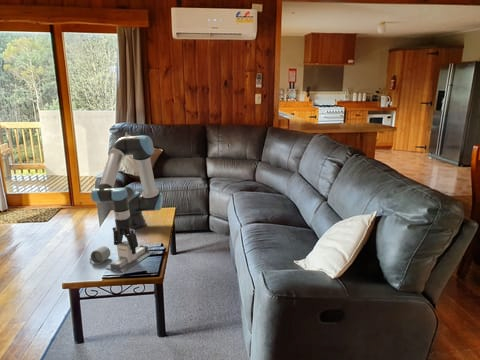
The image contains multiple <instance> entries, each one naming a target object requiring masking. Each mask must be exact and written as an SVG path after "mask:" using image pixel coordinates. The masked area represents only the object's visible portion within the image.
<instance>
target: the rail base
mask: <svg viewBox="0 0 480 360" xmlns="http://www.w3.org/2000/svg"><path fill="white" fill-rule="evenodd" d="M153 252H154V251H151V250H149V245H143V244H140V245H139V248H136V256H137V258H136V259H135V260H133V261H131V262H130V263H128V262H127V257H124V258H122V259H121V260H119V259H118V260H115V262H110V263H109V265H107V267H105V269H106V270H109V269H110V270H109V271H114V270H116V271H115V272H118V271H121V272H120V273H123V272H124V273H125V271H126V270H127V271H128V269H129V270H130V269H131V268H133V267H135V266H136V265H138V264H139V263H141V262H143V260H145V259H146V258H148V257H149V256H152V255H153V254H154V253H153ZM127 271H126V272H127Z"/></svg>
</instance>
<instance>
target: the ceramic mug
mask: <svg viewBox="0 0 480 360" xmlns="http://www.w3.org/2000/svg"><path fill="white" fill-rule="evenodd" d="M111 254H112V253H111V249H110V248H109V247H108V246H101V247H98V248H97V249H95V250H93V251H92V252H91V254H90V258H89V261H90V262H92V263H93V264H95V265H101V264H102V263H103V262H104V261H106V260H107V259H109V258H110V256H111Z"/></svg>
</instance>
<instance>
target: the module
mask: <svg viewBox="0 0 480 360" xmlns="http://www.w3.org/2000/svg"><path fill="white" fill-rule="evenodd" d="M116 248H117V249H116V251H117V258H118V260H121V259H122V258H124V257H127V262H128V263H130V262H131V261H133V260H131V255H130V249H131V247H130V245H129V243H128V240H124V241H123V240H122V243H120V244H118V245H116ZM136 249H137V247H136V248H135V250H136ZM135 257H136V258H137V256H136V253H135ZM134 260H135V259H134Z"/></svg>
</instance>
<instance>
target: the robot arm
mask: <svg viewBox="0 0 480 360" xmlns="http://www.w3.org/2000/svg"><path fill="white" fill-rule="evenodd" d="M154 147H155V146H154V142H153V140H152V137H150V136H149V135H129V136H127V135H125V136H122V137H120V138H117V139H116V140H115V141H114V142H113V143H112V144H111V146H110V147H109V149H108V151H107V152H108V153H107V155H108V157H107V161H106V164H105V167H104V169H103V173H102V175H101V179H100V182H99V185H98V188H93V189H92V190H91V192H90V198H91V201H92V202H94V203H99V204H100V203H112V206H113V213H114V222H115V226H114V227H112V231H113V245H114V246H117V245H118V244H120V243H122V242H123V239H124V237H125V238H126V241H128V243H129V245H130V247H131V249H130V255H131V260H134V259H136V257H135V253H136V250H135V248H136V249H137V248H138V247H139V243H138V238H137V234H136V232H137V228H138V229H141V228H143V227H145V226H146V225H147V222H146V219H145V217H144V215H143V212H151V211H153V212H157V211H160V210H162V207H163V201H164V195H163V193H161V192H160V190H159V189H158V188H157V187H156V183H155V178H154V177H155V176H154V171H153V167H152V162H151V158H152V156H153V155H154V152H155V151H154V150H155V148H154ZM126 156H132V159H133V160H134V161H135V162H136V165H137V170H138V175H139V180H140V183H141V189H142V192H140V191H137V190H136V189H135V188H134V187H133V186H132V185H127V186H124V187H114V186H115V183H116V180H117V177H118V173H119V170H120V167H121V164H122V160H124V159H125V157H126Z"/></svg>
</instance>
